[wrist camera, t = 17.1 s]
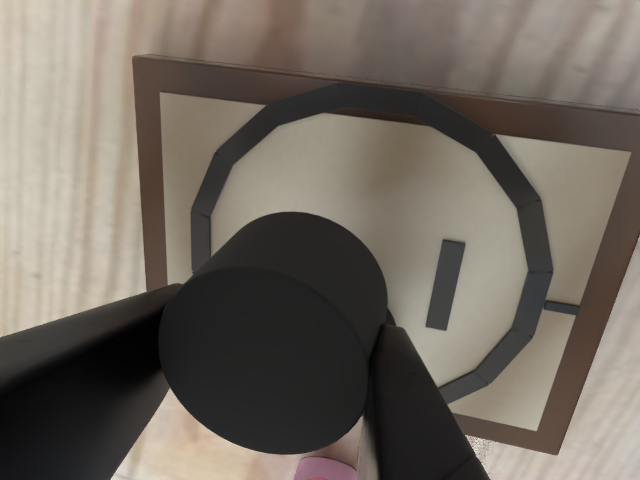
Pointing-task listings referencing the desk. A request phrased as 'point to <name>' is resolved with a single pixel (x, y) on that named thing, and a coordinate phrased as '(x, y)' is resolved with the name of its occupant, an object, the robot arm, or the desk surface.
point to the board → (413, 214)
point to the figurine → (323, 470)
